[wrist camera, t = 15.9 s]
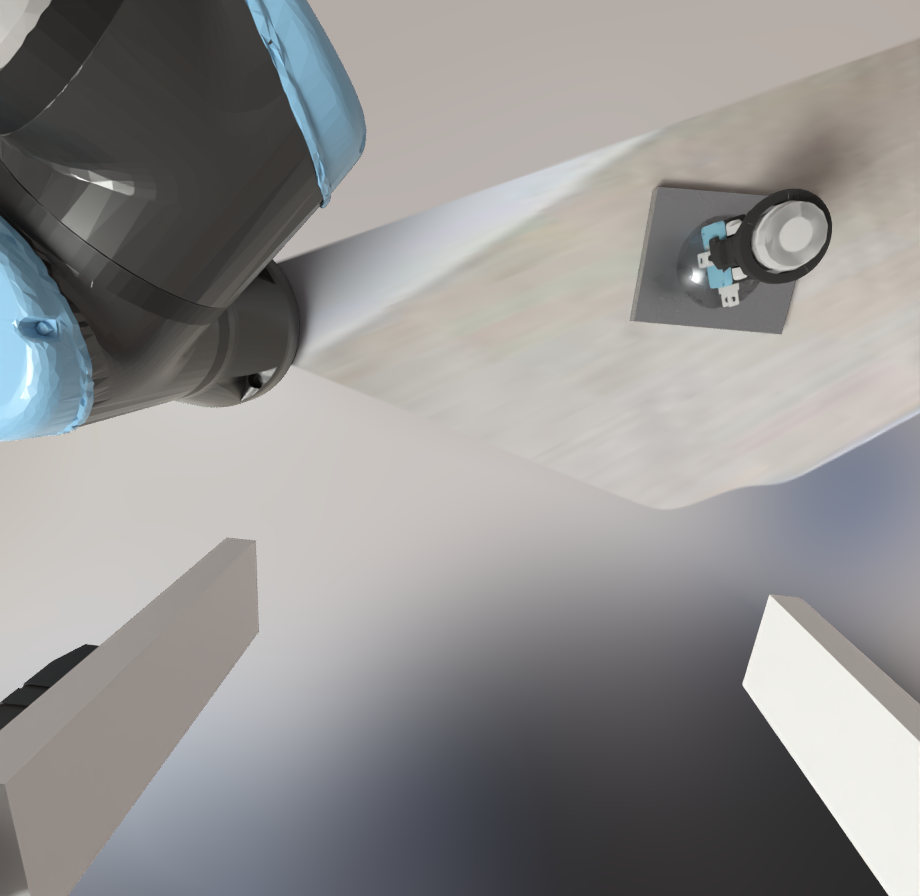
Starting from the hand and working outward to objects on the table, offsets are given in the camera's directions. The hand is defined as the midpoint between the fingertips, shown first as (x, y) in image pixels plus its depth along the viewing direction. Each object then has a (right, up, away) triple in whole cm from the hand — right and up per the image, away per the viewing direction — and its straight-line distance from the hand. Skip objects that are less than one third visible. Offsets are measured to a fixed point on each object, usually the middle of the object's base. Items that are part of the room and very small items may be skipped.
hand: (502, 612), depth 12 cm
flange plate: (+20, +19, +27) cm, 38 cm away
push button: (+19, +19, +26) cm, 37 cm away
